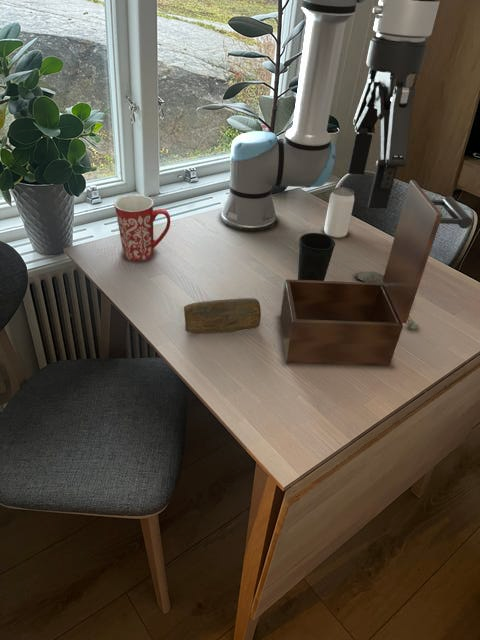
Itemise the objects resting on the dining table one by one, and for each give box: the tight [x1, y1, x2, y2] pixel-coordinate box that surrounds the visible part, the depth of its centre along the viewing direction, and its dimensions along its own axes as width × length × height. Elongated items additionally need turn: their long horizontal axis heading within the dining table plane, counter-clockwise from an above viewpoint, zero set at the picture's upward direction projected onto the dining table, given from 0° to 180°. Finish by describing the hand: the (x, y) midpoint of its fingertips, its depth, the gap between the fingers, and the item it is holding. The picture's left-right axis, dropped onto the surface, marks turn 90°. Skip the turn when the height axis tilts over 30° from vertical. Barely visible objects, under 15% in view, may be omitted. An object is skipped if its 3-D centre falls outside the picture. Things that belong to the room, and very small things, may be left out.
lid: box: [383, 179, 473, 324], centre depth 82 cm, size 21×14×7 cm
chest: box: [279, 278, 404, 367], centre depth 91 cm, size 20×14×10 cm
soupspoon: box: [356, 271, 419, 330], centre depth 106 cm, size 22×3×7 cm
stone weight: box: [183, 297, 262, 334], centre depth 94 cm, size 15×7×7 cm, turn 103°
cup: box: [297, 232, 336, 281], centre depth 106 cm, size 8×8×12 cm
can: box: [323, 186, 355, 239], centre depth 128 cm, size 6×6×12 cm
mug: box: [113, 194, 171, 262], centre depth 113 cm, size 13×9×14 cm
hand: (365, 189), depth 77 cm, fingers open, 13 cm apart
